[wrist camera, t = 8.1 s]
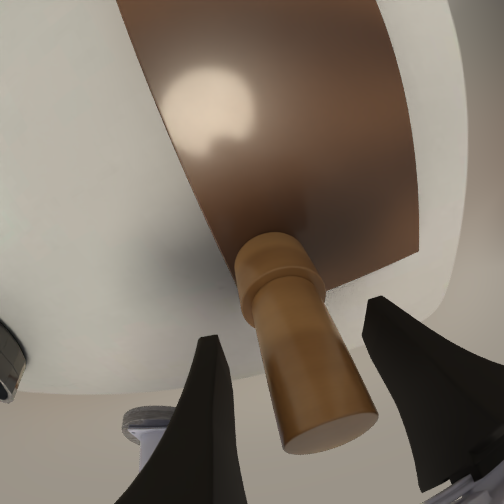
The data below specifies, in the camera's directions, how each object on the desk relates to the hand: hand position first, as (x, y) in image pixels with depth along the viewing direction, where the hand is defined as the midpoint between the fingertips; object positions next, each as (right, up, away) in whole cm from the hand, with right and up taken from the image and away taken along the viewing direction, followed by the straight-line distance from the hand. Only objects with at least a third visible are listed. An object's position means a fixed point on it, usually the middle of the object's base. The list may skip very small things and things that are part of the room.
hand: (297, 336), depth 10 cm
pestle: (-1, +3, +4) cm, 5 cm away
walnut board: (-3, +18, -3) cm, 18 cm away
